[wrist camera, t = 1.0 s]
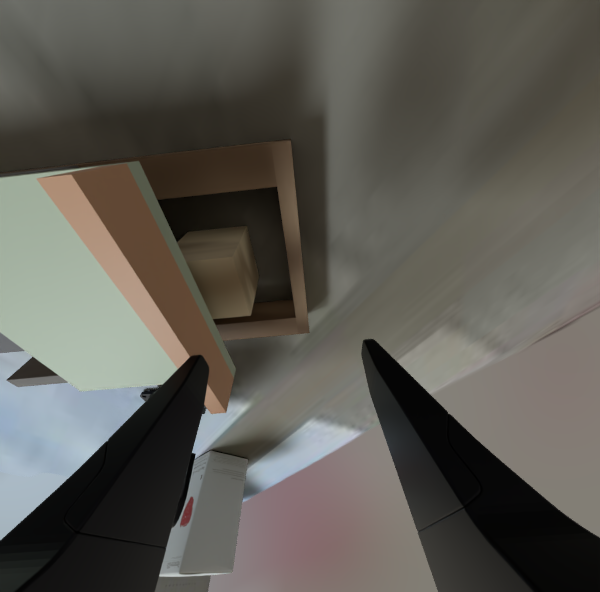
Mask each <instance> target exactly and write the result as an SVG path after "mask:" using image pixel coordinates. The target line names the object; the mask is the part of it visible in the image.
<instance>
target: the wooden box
mask: <svg viewBox="0 0 600 592" xmlns="http://www.w3.org/2000/svg"><path fill="white" fill-rule="evenodd" d="M134 161H139V162H140V164H141V166H142V169H143V171H144V173H145V175H146V177H147V179H148V181H149V184H150V186H151V188H152V190H153V192H154V194H155V197H156V199H157V200H160V199H169V198H178V197H188V196H197V195H206V194H215V193H224V192H233V191H242V190H251V189H260V188H269V187H277V189H278V196H279V203H280V210H281V217H282V224H283V231H284V238H285V245H286V252H287V259H288V266H289V273H290V280H291V287H292V294H293V299H292V300H281V301H271V302H260V303H253V308H252V313H251V316H242V317H231V318H220V319H213V321H214V323H215V325H216V327H217V329H218V332H219V334H220V336H221V338H222V340H223V341H226V340H237V339H248V338H259V337H270V336H281V335H293V334H304V333H309V324H308V313H307V303H306V292H305V282H304V271H303V261H302V251H301V240H300V230H299V220H298V209H297V199H296V188H295V178H294V168H293V157H292V147H291V139H286V140H277V141H269V142H260V143H251V144H243V145H234V146H225V147H217V148H208V149H200V150H191V151H182V152H174V153H165V154H156V155H148V156H139V157H131V158H122V159H113V160H105V161H96V162H87V163H79V164H70V165H62V166H53V167H44V168H36V169H27V170H18V171H10V172H1V173H0V177H4V176H13V175H21V174H30V173H39V172H47V171H56V170H65V169H73V168H82V167H91V166H99V165H108V164H117V163H125V162H134ZM7 381H9V382H10V383H12V384H14V385H15V386H17V387H23V386H34V385H46V384H57V383H68V382H67V381H66V380H64V379H63V378H62V377H60V376H59V375H57V374H56V373H55V372H53V371H52V370H51V369H49V368H48V367H47V366H45V365H44V364H42V363H41V362H40V361H38V360H37V359H36V358H34V357H32V358H31V359H30V360H29V361H28V362H26V363H25V364H24V365H23V366H22V367H21V368H20V369H19V370H17V371H16V372H15V373H14V374H13V375H12V376H11V377H9V378H8V379H7Z"/></svg>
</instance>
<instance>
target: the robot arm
mask: <svg viewBox="0 0 600 592" xmlns="http://www.w3.org/2000/svg"><path fill="white" fill-rule="evenodd" d="M362 360H363V364H364V369H365V373H366V378H367V382H368V387H369V391H370V395H371V398H372V401H373V404H374V407H375V410H376V413H377V415H378V418H379V421H380V424H381V427H382V430H383V433H384V436H385V439H386V441H387V444H388V447H389V450H390V453H391V456H392V459H393V462H394V465H395V468H396V470H397V473H398V476H399V479H400V482H401V485H402V488H403V491H404V494H405V496H406V499H407V502H408V505H409V508H410V511H411V514H412V517H413V520H414V523H415V525H416V529H417V531H418V535H419V538H420V540H421V543H422V546H423V549H424V552H425V555H426V558H427V561H428V564H429V567H430V569H431V572H432V575H433V578H434V581H435V584H436V587H437V590H438V592H600V538H599V537H598V536H596V535H594V534H593V533H591V532H590V531H588V530H586V529H585V528H583V527H582V526H580V525H579V524H578V523H576V522H575V521H573V520H572V519H570V518H569V517H567V516H566V515H565V514H564V513H562V512H561V511H560V510H558V509H557V508H556V507H555V506H554V505H552V504H551V503H550V502H549V501H547V500H546V499H545V498H544V497H543V496H542V495H540V494H539V493H538V492H537V491H535V490H534V489H533V488H532V487H531V486H530V485H529V484H527V483H526V482H525V481H524V480H522V478H520V477H519V476H518V475H517V474H516V473H515V472H513V471H512V470H511V469H510V468H509V467H507V466H506V465H505V464H504V463H502V462H501V461H500V460H499V459H498V458H497V457H496V456H495V455H493V454H492V453H491V452H490V451H489V450H488V449H487V448H485V447H484V446H483V445H482V444H481V443H480V442H479V441H478V440H476V439H475V438H474V437H473V436H472V435H471V434H470V433H469V432H468V431H467V430H466V429H465V428H464V427H463V426H462V425H461V424H460V423H458V421H457V420H456V419H455V418H454V417H453V416H451V415H450V414H448V412H447V411H446V410H445V409H444V408H443V407H442V406H441V405H440V404H439V403H438V402H437V401H436V400H435V399H434V398H433V397H432V396H431V395H430V394H429V393H428V392H427V391H426V390H425V389H424V388H423V387H422V386H421V385H420V384H419V383H418V382H417V381H416V380H415V379H414V378H413V377H412V376H411V375H410V374H409V373H408V372H407V371H406V370H405V369H404V368H403V367H402V366H401V365H400V364H399V363H398V362H397V361H396V360H395V359H393V358H392V357H391V356H390V355H389V354H388V353H387V352H386V351H385V350H384V349H383V348H382V347H381V346H380V345H379V344H378V343H377V342H376V341H375V340H374V339H365V340H363V344H362ZM208 377H209V365H208V364H207V362H206V360H205V359H204V357H203V356H202V355H192V356H191V357H189V358H188V359H187V360H186V361H185V362H184V363H183V364H182V365H181V366H180V367H179V368H178V369H177V370H176V371H175V372H174V373H173V374H172V375H171V376H170V378H169V379H168V380H167V381H166V382H165V383H164V384H163V385H162V386H161V387H160V388H159V389H158V390H157V391H145V392H142V393H141V395H140V397H141V398H142V399H143V400H145V401H146V402H145V403H144V404H143V405H142V406H141V407H140V408H139V409H138V410H137V411H136V412H135V413H134V414H133V415H132V416H131V417H130V418H129V419H128V420H127V421H126V422H125V423H124V424H123V425H122V426H121V427H120V428H119V429H118V430H117V431H116V432H115V433H114V434H113V435H112V436H111V437H110V438H109V439H108V441H106V442H105V443H104V444H103V445H102V446H101V447H100V448H99V449H98V450H97V451H96V452H95V453H94V454H93V455H92V456H91V457H90V458H89V459H88V460H87V461H86V462H85V463H84V464H83V465H82V466H81V467H80V468H79V469H78V470H77V471H76V472H75V473H74V474H73V475H72V476H70V477H69V478H68V479H67V480H66V481H65V482H64V483H63V484H62V485H61V486H60V487H59V488H58V489H57V490H55V492H53V493H52V494H51V495H50V496H49V497H48V498H47V499H46V500H45V501H43V502H42V503H41V504H40V505H39V506H38V507H37V508H36V509H35V510H34V511H33V512H31V514H29V515H28V516H27V517H26V518H25V519H24V520H23V521H21V523H19V524H18V525H17V526H16V527H15V528H14V529H13V530H12V531H11V532H9V533H8V534H7V535H6V536H5V537H4V538H3V539H2V540H0V592H155V590H156V586H157V582H158V578H159V575H160V571H161V567H162V563H163V560H164V556H165V552H166V547H167V544H168V540H169V536H170V533H171V529H172V528H173V527H174V526H175V525H176V524H177V522H178V520H179V518H180V515H181V513H182V510H183V507H184V504H185V501H186V498H187V493H188V489H189V484H190V479H191V474H192V469H193V464H194V459H195V454H194V453H192V450H193V446H194V442H195V439H196V435H197V431H198V427H199V424H200V420H201V416H202V414H205V411H206V410H205V408H204V403H205V397H206V390H207V384H208Z"/></svg>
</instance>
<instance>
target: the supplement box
mask: <svg viewBox="0 0 600 592" xmlns="http://www.w3.org/2000/svg"><path fill="white" fill-rule="evenodd" d="M247 464H248V459H245V458H240V457H236V456H232V455H228V454H223V453H219V452H215V451H209V452H207V453H205V454H204V455H202V456H200V457H199V458H197V459H195V460H194V464H193V469H192V474H191V479H190V484H189V489H188V493H187V498H186V501H185V504H184V507H183V510H182V513H181V515H180V518H179V520H178V522H177V524H176V525H175V526H174V527H173V528H172V529H171V533H170V536H169V540H168V544H167V547H166V552H165V556H164V560H163V563H162V567H161V571H160V575H159V576H161V577H184V576H204V575H216V574H227V573H232V572H233V565H234V558H235V551H236V544H237V536H238V529H239V522H240V515H241V507H242V500H243V493H244V485H245V478H246V471H247Z"/></svg>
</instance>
